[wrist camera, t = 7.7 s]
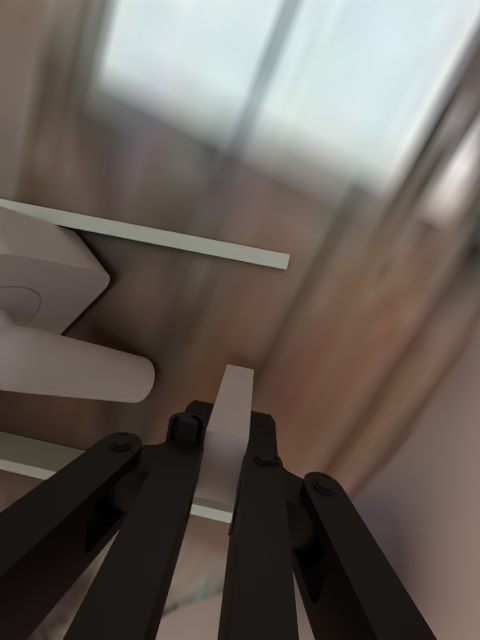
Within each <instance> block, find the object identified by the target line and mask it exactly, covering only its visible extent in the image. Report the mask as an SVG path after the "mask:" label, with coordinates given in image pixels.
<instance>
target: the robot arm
mask: <svg viewBox="0 0 480 640" xmlns="http://www.w3.org/2000/svg"><path fill="white" fill-rule="evenodd" d="M253 375H254V369H249V368H244V367H239V366H234V365H229V364H227V367H226V370H225V373H224V376H223V379H222V382H221V386H220V389H219V392H218V395H217V398H216V401H215V404H212V403H207V402H203V401H198V400H194V401H193V402H191V403H190V404H188V406H187V408H186V410H185V412H180V413H177V414H174V415H172V416H171V417H170V419H169V425H168V432H167V438H166V441H165V442H164V443H162V444H158V445H142V441H141V439H140V438H139V437H138V436H137V435H135V434H132V433H128V432H118V433H113V434H110V435H108V436H106V437H105V438H103V439H102V440H100V441H99V442H98V443H96V444H95V445H94V446H92V447H91V448H89V449H88V450H87V451H85V452H84V453H83V454H81V455H80V456H78V457H77V458H76V459H74V460H73V461H71V462H70V463H69V464H67V465H66V466H65V467H63V468H62V469H60V470H59V471H58V472H56V473H55V474H53V475H52V476H51V477H49V478H48V479H47V480H45V481H44V482H42V483H41V484H40V485H38V486H37V487H35V488H34V489H33V490H31V491H30V492H29V493H27V494H26V495H24V496H23V497H22V498H20V499H19V500H17V501H16V502H15V503H13V504H12V505H11V506H9V507H8V508H6V509H5V510H4V511H2V512H1V513H0V640H27V639H28V637H29V636H30V635H31V634H32V633H33V632H34V630H35V629H36V628H37V627H38V626H39V624H40V623H41V622H42V621H43V620H44V618H45V617H46V616H47V615H48V614H49V612H50V611H51V610H52V609H53V608H54V606H55V605H56V604H57V603H58V602H59V601H60V599H61V598H62V597H63V596H64V595H65V593H66V592H67V591H68V590H69V589H70V587H71V586H72V585H73V584H74V583H75V581H76V580H77V579H78V578H79V577H80V575H81V574H82V573H83V572H84V571H85V570H86V568H87V567H88V566H89V565H90V564H91V562H92V561H93V560H94V559H95V558H96V556H97V555H98V554H99V553H100V552H101V550H102V549H103V548H104V547H105V546H106V545H107V543H108V542H109V541H110V540H111V539H112V537H113V536H114V535H115V534H116V533H117V531H118V530H119V529H120V530H119V532H118V534H117V536H116V538H115V540H114V541H113V543H112V545H111V547H110V549H109V551H108V553H107V555H106V557H105V559H104V561H103V563H102V565H101V567H100V569H99V571H98V572H97V574H96V576H95V578H94V580H93V582H92V584H91V586H90V588H89V590H88V592H87V594H86V596H85V598H84V600H83V602H82V603H81V605H80V607H79V609H78V611H77V613H76V615H75V617H74V619H73V621H72V623H71V625H70V627H69V629H68V631H67V633H66V634H65V636H64V638H63V640H155V639H156V635H157V631H158V628H159V624H160V621H161V617H162V614H163V610H164V606H165V603H166V599H167V595H168V592H169V588H170V585H171V581H172V577H173V574H174V570H175V566H176V563H177V559H178V556H179V552H180V548H181V545H182V541H183V537H184V534H185V530H186V527H187V523H188V519H189V516H190V512H191V508H192V503H193V498H194V497H199V498H204V499H208V500H213V501H217V502H222V503H226V504H231V505H234V504H235V506H234V511H233V515H232V520H231V524H230V529H229V533H228V535H230V538H229V547H228V555H227V564H226V572H225V580H224V589H223V597H222V606H221V615H220V622H219V632H218V640H299V635H298V625H297V613H296V602H295V592H294V581H293V572H294V575H295V578H296V581H297V584H298V587H299V591H300V594H301V597H302V600H303V603H304V607H305V610H306V613H307V616H308V619H309V622H310V626H311V628H312V632H313V635H314V638H315V640H437V639H436V637H435V636H434V634H433V632H432V631H431V629H430V628H429V626H428V624H427V623H426V621H425V620H424V618H423V616H422V615H421V613H420V612H419V610H418V609H417V607H416V605H415V604H414V602H413V600H412V599H411V597H410V596H409V594H408V592H407V591H406V589H405V588H404V586H403V584H402V583H401V581H400V579H399V578H398V576H397V575H396V573H395V572H394V570H393V568H392V567H391V565H390V563H389V562H388V560H387V559H386V557H385V555H384V554H383V552H382V550H381V549H380V547H379V546H378V544H377V543H376V541H375V539H374V538H373V536H372V534H371V533H370V531H369V530H368V528H367V526H366V525H365V523H364V522H363V520H362V518H361V517H360V515H359V514H358V512H357V510H356V509H355V507H354V506H353V504H352V502H351V501H350V499H349V497H348V496H347V494H346V493H345V491H344V489H343V488H342V486H341V485H340V484H339V483H338V482H337V481H336V480H335V479H333V478H332V477H331V476H328V475H326V474H324V473H320V472H309V473H308V474H306V475H305V477H304V479H302V478H300V477H298V476H296V475H294V474H292V473H290V472H289V471H287V470H286V469H285V468H284V467H283V463H282V461H281V458H280V457H279V456H278V453H277V440H276V427H275V421H274V420H273V418H272V417H271V415H268V414H264V413H259V412H254V411H251V402H252V388H253ZM292 569H293V570H292Z"/></svg>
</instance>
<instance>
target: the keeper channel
mask: <svg viewBox="0 0 480 640" xmlns="http://www.w3.org/2000/svg"><path fill="white" fill-rule="evenodd" d="M0 206H2V207H5V208H8V209H11V210H14V211H17V212H19V213H22V214H25V215H28V216H31V217H34V218H37V219H40V220H43V221H46V222H49V223H51V224H56V225H61V226H66V227H71V228H76V229H81V230H86V231H91V232H97V233H102V234H107V235H112V236H117V237H122V238H127V239H132V240H137V241H143V242H148V243H153V244H158V245H163V246H168V247H173V248H178V249H184V250H189V251H194V252H199V253H204V254H209V255H214V256H219V257H224V258H230V259H235V260H240V261H245V262H250V263H255V264H260V265H265V266H271V267H276V268H281V269H286V270H287V266H288V261H289V257H290V255H288V254H283V253H278V252H273V251H268V250H263V249H257V248H252V247H247V246H242V245H237V244H232V243H226V242H221V241H216V240H211V239H206V238H200V237H195V236H190V235H185V234H180V233H175V232H169V231H164V230H159V229H154V228H149V227H144V226H138V225H133V224H128V223H123V222H118V221H112V220H107V219H102V218H97V217H92V216H87V215H81V214H76V213H71V212H66V211H61V210H56V209H50V208H45V207H40V206H35V205H30V204H24V203H19V202H14V201H9V200H4V199H0ZM84 452H85V451H84V450H80V449H76V448H71V447H67V446H63V445H58V444H54V443H49V442H45V441H41V440H36V439H32V438H28V437H23V436H19V435H14V434H10V433H6V432H1V431H0V469H1V470H6V471H10V472H14V473H18V474H23V475H27V476H31V477H36V478H40V479H44V480H47V479H48V478H49V477H51V476H52V475H53V474H55V473H56V472H58V471H59V470H60V469H62V468H63V467H65V466H66V465H67V464H69V463H70V462H71V461H73V460H74V459H76V458H77V457H78V456H80V455H81V454H83V453H84ZM233 510H234V505H231V504H226V503H222V502H217V501H213V500H208V499H204V498H199V497H194V498H193V503H192V508H191V512H190V514H193V515H197V516H202V517H206V518H210V519H214V520H219V521H223V522H227V523H231V520H232V515H233Z"/></svg>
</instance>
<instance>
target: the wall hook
mask: <svg viewBox="0 0 480 640" xmlns="http://www.w3.org/2000/svg"><path fill="white" fill-rule="evenodd" d="M109 281H110V277H109V275H108V274H107V272H106V271H105V270H104V268H103V267H102V266H101V264H100V263H99V262H98V260H97V259H96V258H95V256H94V255H93V254H92V252H91V251H90V250H89V249H88V247H87V246H86V245H85V243H84V242H83V241H82V239H81V238H80V237H79V236H78V234H77V233H75V232H74V231H71V230H69V229H66V228H63V227H60V226H57V225H54V224H51V223H49V222H46V221H43V220H40V219H37V218H34V217H31V216H28V215H25V214H22V213H19V212H17V211H14V210H11V209H8V208H5V207H2V206H0V390H4V391H12V392H22V393H31V394H42V395H53V396H64V397H75V398H86V399H97V400H107V401H118V402H129V403H137V402H140V401H142V400H143V399H144V398H146V396H147V395H148V394H149V392H150V391H151V389H152V386H153V383H154V378H155V372H154V367H153V365H152V363H151V361H150V360H149V359H147V358H145V357H141V356H138V355H134V354H130V353H126V352H122V351H119V350H115V349H111V348H107V347H104V346H100V345H96V344H92V343H88V342H85V341H81V340H77V339H73V338H69V337H65V336H62V335H60V334H61V333H62V332H63V331H64V330H65V329H66V328H67V327H68V326H69V325H70V324H71V323H72V322H73V321H74V320H75V319H76V318H77V317H78V316H79V315H80V314H81V313H82V312H83V311H84V310H85V309H86V308H87V307H88V306H89V305H90V304H91V303H92V302H93V301H94V300H95V299H96V298H97V297H98V296H99V295H100V294H101V293H102V292H103V291H104V290H105V288H106V287H107V286H108V284H109Z"/></svg>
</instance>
